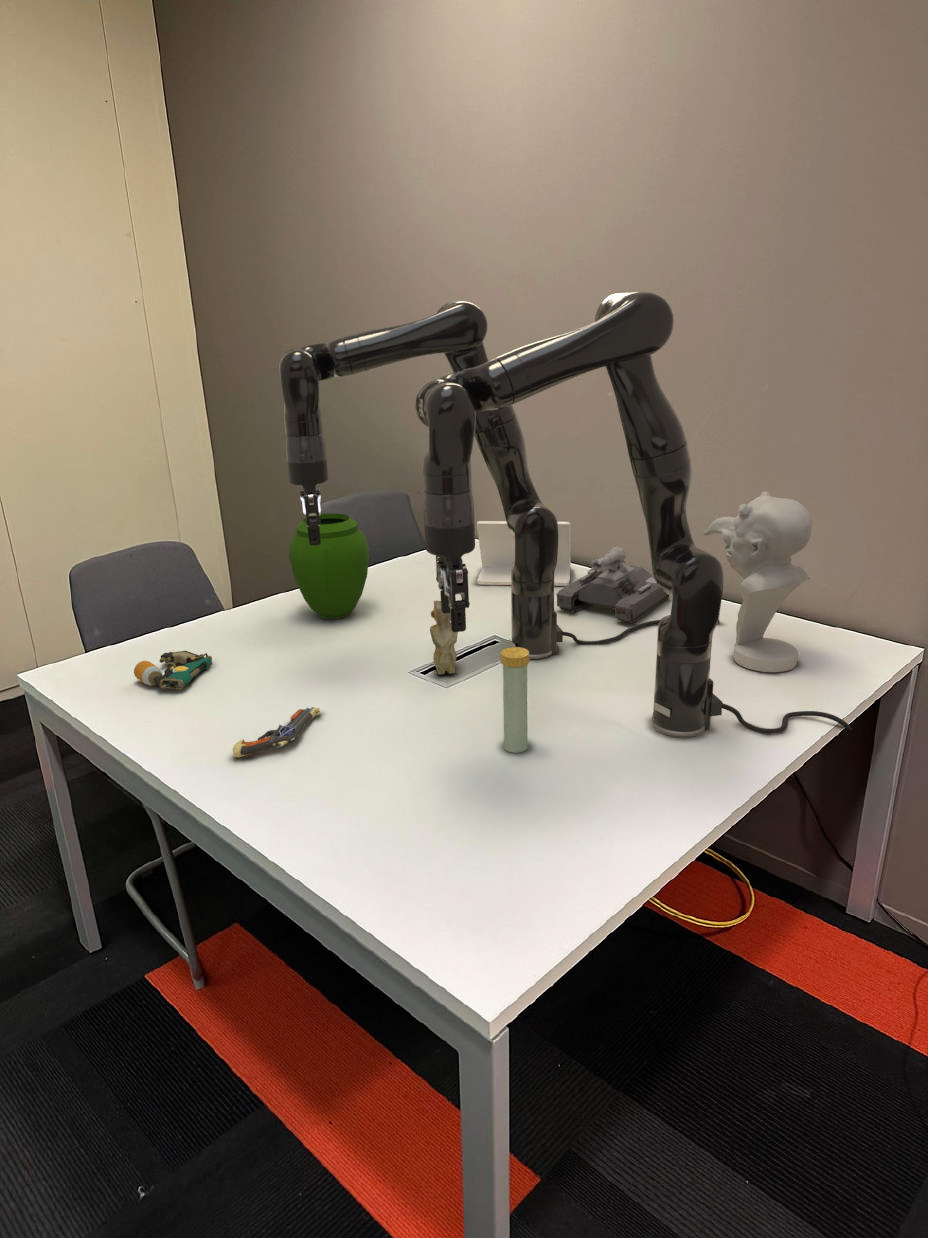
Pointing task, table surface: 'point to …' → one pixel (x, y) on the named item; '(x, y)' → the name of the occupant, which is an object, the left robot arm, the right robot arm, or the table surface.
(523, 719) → the pale green cylinder
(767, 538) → the bust sculpture
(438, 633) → the sculpture
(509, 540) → the tablet stand
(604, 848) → the table surface
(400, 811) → the table surface
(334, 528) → the vase
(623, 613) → the toy
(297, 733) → the toy gun
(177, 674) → the spray gun
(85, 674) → the table surface
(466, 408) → the right robot arm
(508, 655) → the lid
